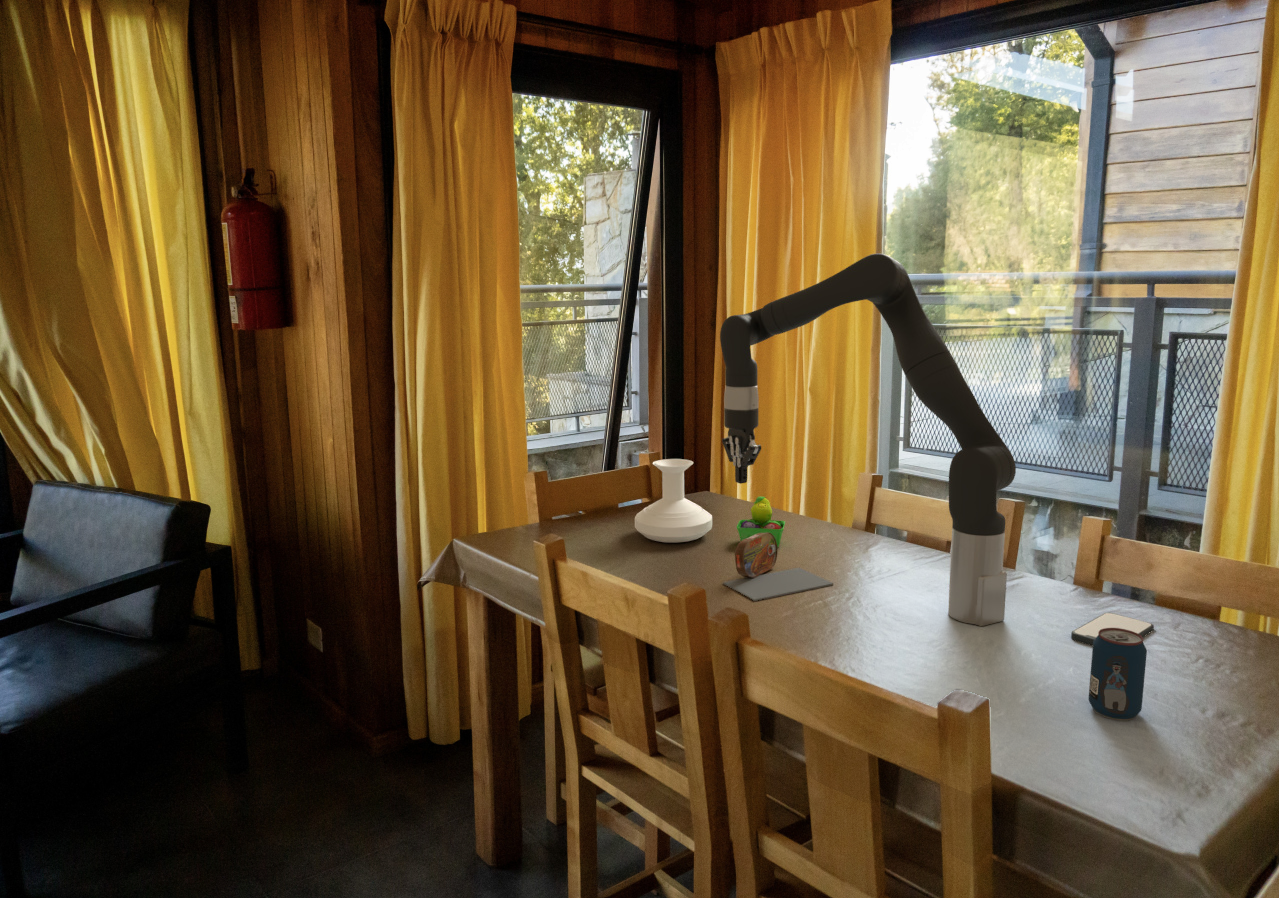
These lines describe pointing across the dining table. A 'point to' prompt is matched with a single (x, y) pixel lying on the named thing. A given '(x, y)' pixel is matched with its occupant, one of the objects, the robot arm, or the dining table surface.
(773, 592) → the mat
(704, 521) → the white vase
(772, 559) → the tin
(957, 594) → the robot arm
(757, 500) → the fruit basket
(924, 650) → the dining table surface
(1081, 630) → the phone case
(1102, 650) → the soda can
